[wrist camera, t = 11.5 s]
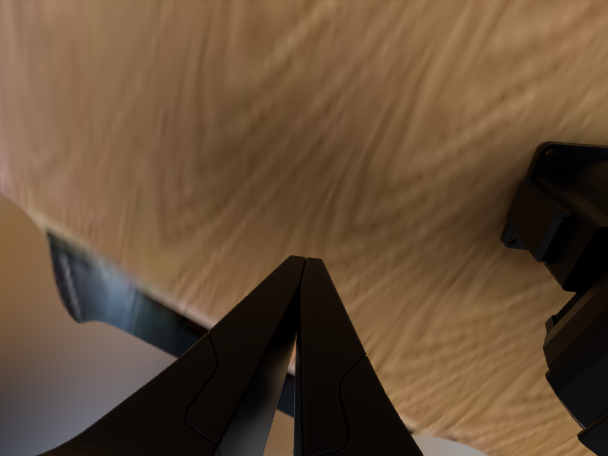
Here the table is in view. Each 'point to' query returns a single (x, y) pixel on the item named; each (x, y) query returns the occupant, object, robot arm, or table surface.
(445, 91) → the table surface
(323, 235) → the table surface
